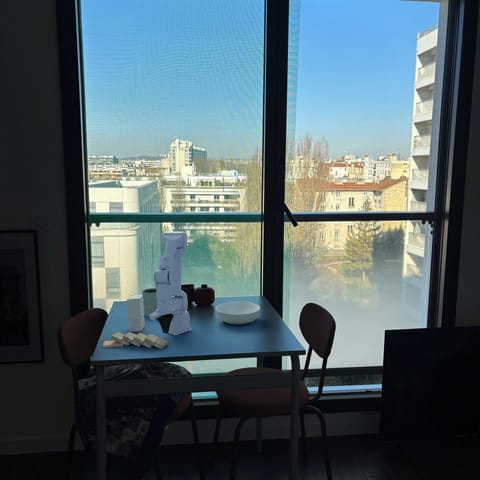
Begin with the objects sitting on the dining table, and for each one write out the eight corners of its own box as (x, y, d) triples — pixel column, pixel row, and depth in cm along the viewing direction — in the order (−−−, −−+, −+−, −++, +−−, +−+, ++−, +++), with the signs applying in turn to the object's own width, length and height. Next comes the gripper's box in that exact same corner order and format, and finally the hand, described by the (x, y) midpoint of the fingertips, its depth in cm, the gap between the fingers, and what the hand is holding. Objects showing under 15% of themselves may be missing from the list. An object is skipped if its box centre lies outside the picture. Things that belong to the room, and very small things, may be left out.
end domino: (124, 339, 192) (104, 341, 190) (123, 344, 187) (102, 345, 186) (124, 343, 192) (104, 344, 191) (123, 348, 187) (102, 349, 186)
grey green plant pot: (139, 314, 231) (138, 290, 229) (156, 309, 238) (155, 287, 236) (150, 318, 224) (149, 294, 222) (167, 313, 231) (166, 290, 229)
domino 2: (146, 339, 190) (129, 331, 192) (140, 343, 185) (123, 335, 187) (145, 342, 190) (128, 335, 192) (139, 346, 185) (122, 338, 187)
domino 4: (167, 341, 187) (150, 333, 189) (162, 345, 183) (144, 337, 184) (166, 344, 188) (149, 337, 189) (161, 349, 183) (143, 341, 184)
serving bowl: (219, 330, 204) (219, 315, 203) (212, 316, 224) (212, 303, 224) (265, 326, 208) (265, 311, 207) (254, 313, 229) (254, 300, 228)
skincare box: (141, 331, 204) (140, 298, 202) (128, 332, 204) (126, 299, 202) (144, 325, 213) (143, 294, 211) (131, 326, 212) (130, 294, 210)
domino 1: (134, 338, 191) (118, 332, 193) (128, 342, 186) (111, 335, 188) (134, 341, 192) (117, 335, 193) (128, 345, 187) (110, 339, 189)
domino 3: (156, 340, 188) (139, 332, 190) (151, 344, 184) (133, 336, 185) (155, 343, 189) (138, 336, 190) (150, 348, 184) (132, 340, 186)
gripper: (169, 294, 191) (170, 325, 193) (143, 302, 179) (145, 335, 181) (182, 296, 187) (183, 328, 189) (156, 304, 175) (158, 339, 177)
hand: (165, 332), depth 185 cm, fingers closed
